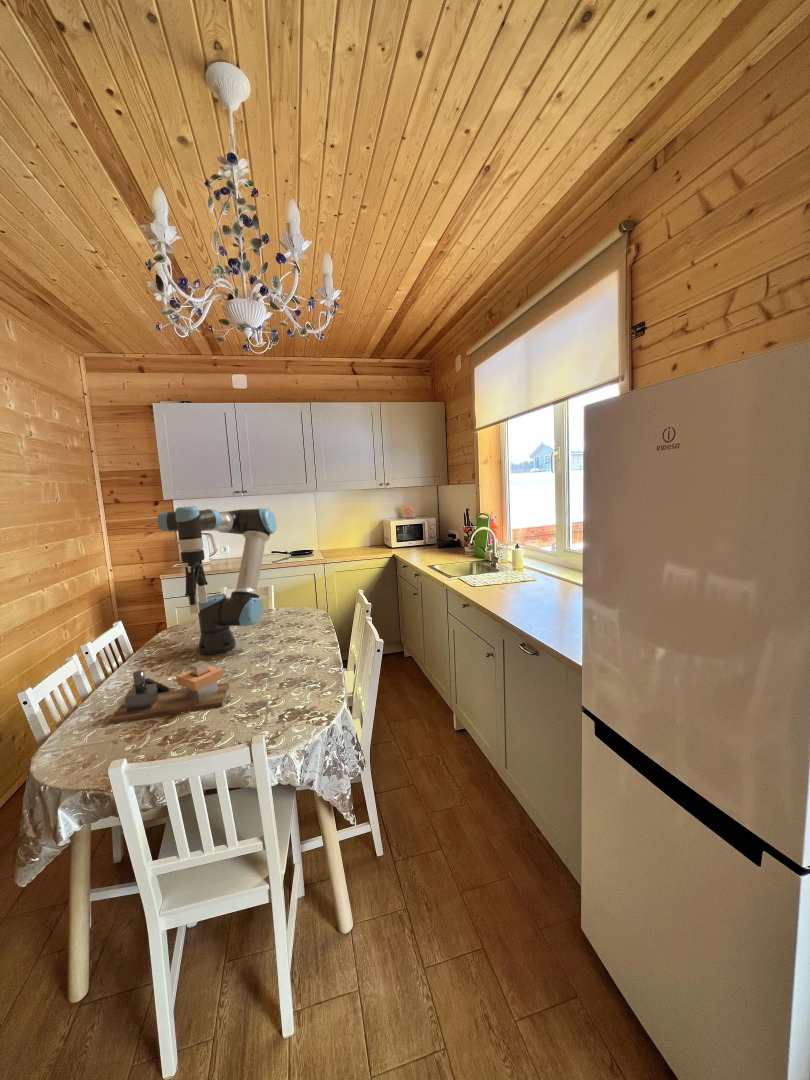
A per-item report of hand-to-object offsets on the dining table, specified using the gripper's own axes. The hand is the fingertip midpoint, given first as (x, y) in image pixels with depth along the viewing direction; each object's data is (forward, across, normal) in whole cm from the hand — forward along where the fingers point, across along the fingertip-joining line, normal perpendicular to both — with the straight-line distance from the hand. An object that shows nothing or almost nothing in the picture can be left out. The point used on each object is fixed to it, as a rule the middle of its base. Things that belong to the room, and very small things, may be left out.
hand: (199, 607), depth 159 cm
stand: (+25, +18, -16) cm, 35 cm away
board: (+27, +18, -7) cm, 33 cm away
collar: (+20, +18, +2) cm, 27 cm away
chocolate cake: (+27, +7, -16) cm, 32 cm away
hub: (+25, +18, +2) cm, 31 cm away
